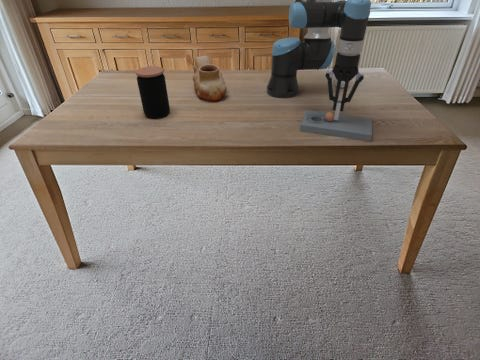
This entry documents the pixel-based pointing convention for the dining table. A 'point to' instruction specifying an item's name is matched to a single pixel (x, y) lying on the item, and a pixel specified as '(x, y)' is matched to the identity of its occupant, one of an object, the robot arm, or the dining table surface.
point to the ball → (329, 116)
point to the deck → (337, 125)
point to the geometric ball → (337, 81)
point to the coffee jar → (153, 91)
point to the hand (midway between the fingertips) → (336, 118)
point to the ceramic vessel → (208, 80)
